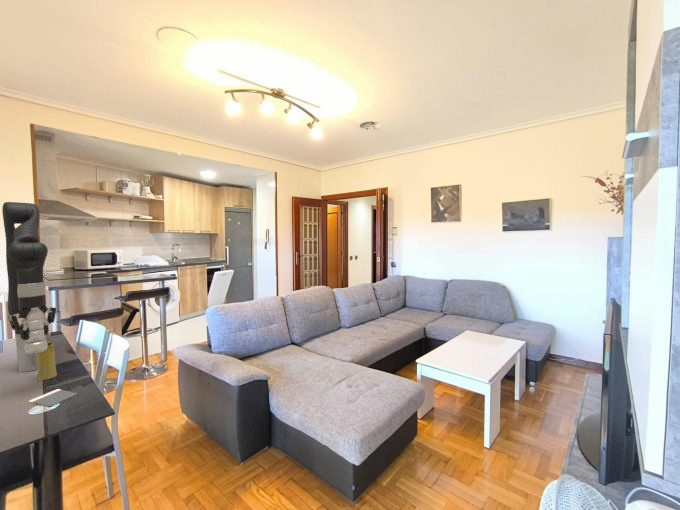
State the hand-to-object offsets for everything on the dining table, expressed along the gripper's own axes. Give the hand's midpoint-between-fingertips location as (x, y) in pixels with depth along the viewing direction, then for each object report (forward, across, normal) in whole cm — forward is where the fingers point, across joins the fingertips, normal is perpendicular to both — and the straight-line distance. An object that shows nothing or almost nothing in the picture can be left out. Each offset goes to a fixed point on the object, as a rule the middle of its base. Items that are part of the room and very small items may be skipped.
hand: (35, 337), depth 118 cm
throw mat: (+21, +2, +14) cm, 25 cm away
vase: (+22, -8, -10) cm, 25 cm away
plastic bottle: (+7, 0, 0) cm, 7 cm away
